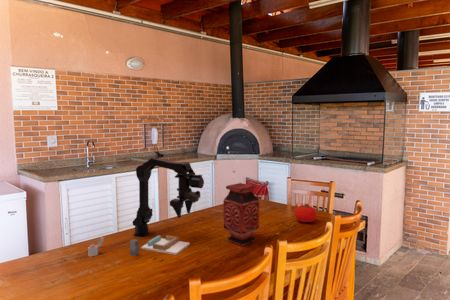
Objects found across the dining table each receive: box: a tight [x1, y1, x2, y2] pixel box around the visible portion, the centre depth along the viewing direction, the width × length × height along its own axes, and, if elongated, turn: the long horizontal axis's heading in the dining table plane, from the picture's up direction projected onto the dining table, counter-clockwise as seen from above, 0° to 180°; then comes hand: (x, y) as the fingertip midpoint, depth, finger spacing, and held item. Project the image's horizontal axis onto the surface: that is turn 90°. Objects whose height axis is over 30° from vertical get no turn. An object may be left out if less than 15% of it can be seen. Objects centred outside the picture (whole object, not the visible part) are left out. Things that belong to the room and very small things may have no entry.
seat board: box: [141, 235, 191, 256], centre depth 173 cm, size 20×14×3 cm
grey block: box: [129, 238, 140, 257], centre depth 164 cm, size 3×3×7 cm
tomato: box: [293, 204, 317, 223], centre depth 214 cm, size 13×12×11 cm
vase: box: [222, 182, 260, 247], centre depth 180 cm, size 14×14×30 cm
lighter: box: [87, 236, 105, 258], centre depth 163 cm, size 7×2×8 cm, turn 125°
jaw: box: [147, 235, 162, 246], centre depth 176 cm, size 2×10×2 cm, turn 158°
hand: (184, 215), depth 179 cm, fingers open, 9 cm apart
